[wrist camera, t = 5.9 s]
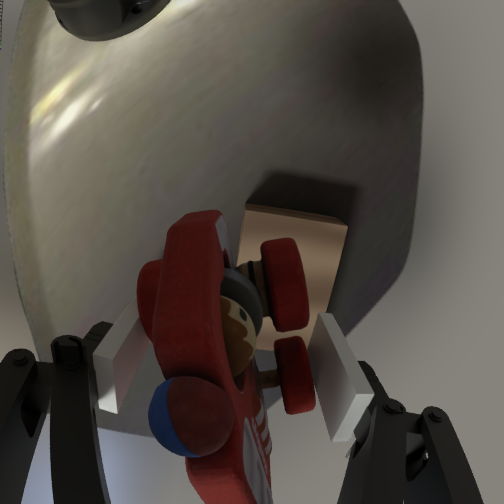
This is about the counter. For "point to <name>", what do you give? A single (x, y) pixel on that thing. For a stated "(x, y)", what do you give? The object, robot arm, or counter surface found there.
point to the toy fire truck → (223, 353)
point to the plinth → (311, 251)
